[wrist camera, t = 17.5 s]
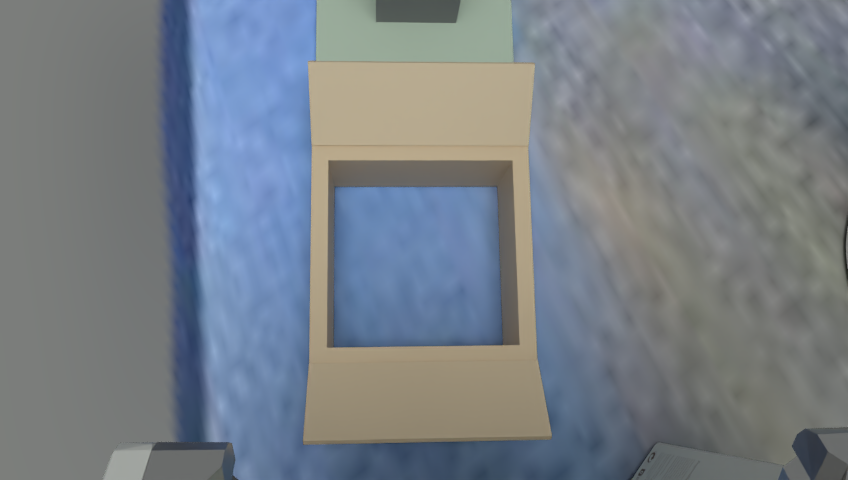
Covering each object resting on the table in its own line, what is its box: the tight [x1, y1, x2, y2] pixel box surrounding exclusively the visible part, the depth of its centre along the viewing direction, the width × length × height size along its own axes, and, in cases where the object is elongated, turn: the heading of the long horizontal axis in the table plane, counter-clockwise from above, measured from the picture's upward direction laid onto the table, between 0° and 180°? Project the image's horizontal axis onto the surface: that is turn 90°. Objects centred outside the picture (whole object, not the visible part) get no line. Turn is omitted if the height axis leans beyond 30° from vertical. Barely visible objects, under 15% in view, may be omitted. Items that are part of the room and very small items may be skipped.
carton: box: [303, 61, 552, 445], centre depth 38 cm, size 11×17×7 cm, turn 1°
